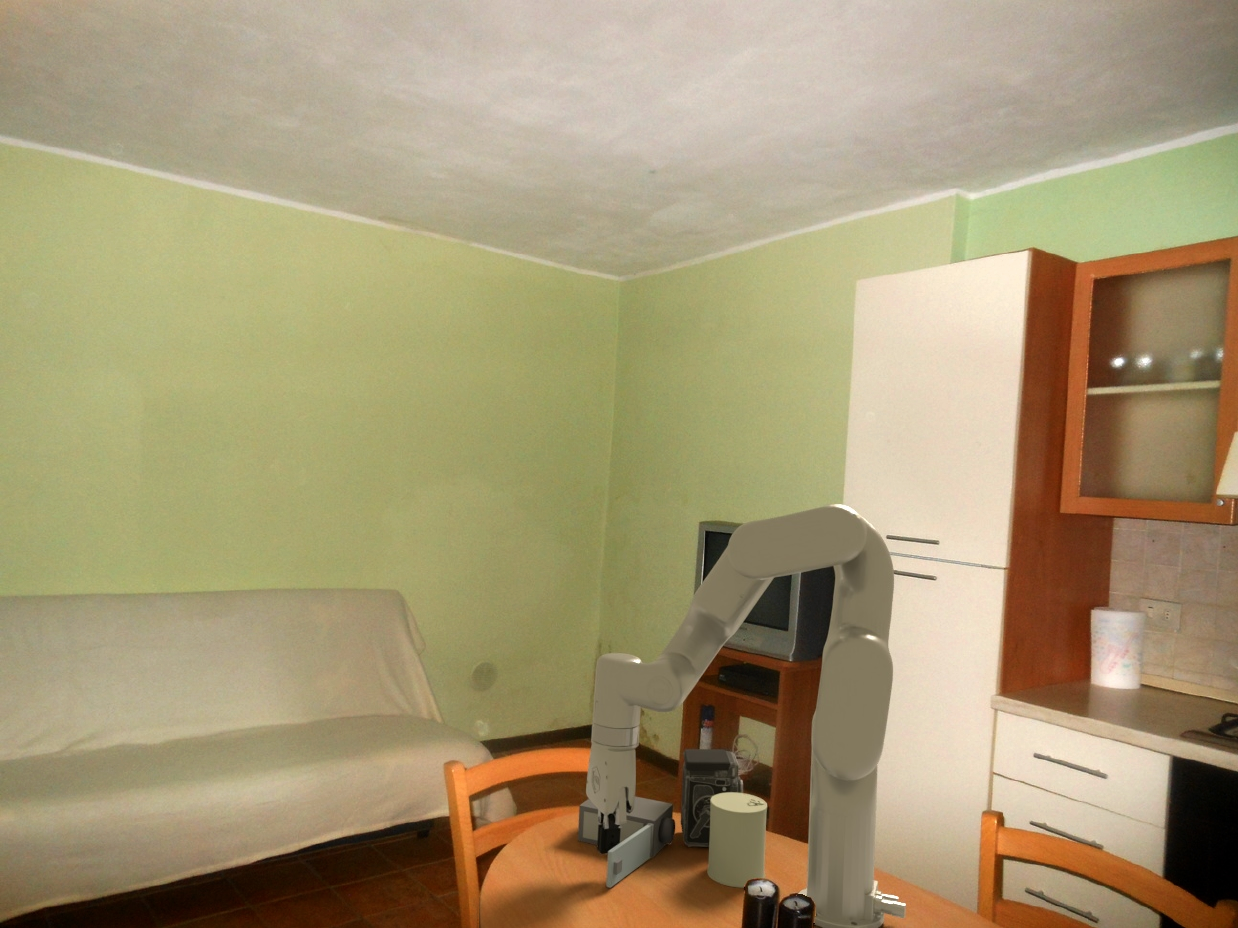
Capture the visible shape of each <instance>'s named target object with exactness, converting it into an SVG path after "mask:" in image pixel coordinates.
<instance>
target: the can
mask: <svg viewBox="0 0 1238 928" xmlns="http://www.w3.org/2000/svg"><path fill="white" fill-rule="evenodd" d="M710 803H711V805H710V841H709V847H708V862H707V863H708V864H707V869H706V870H707V871H706V873H707V875H708V877H709V878H710V879H712V880H713V881H714V882H716V883H718V884H721V885H723V886H726V887H732V888H741V889H745V888H744V885H745V884H746V882H747V881H748V880H750V879H754V878H765V879H766V874H765V861H766V860H765V855H766V853H765V852H766V828H767V827H766V825H767V810H768V803H767V802H766V801H765V800H764V799H762V798H761V797H758V796H756V795H754V794H750V793H744V792H743V793H736V792H727V793H720V794H716V795H714V796H713V797H712V798H711V799H710Z"/></svg>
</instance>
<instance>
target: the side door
mask: <svg viewBox="0 0 1238 928" xmlns="http://www.w3.org/2000/svg"><path fill="white" fill-rule="evenodd" d="M653 827H654V824H652V823H648V824H647V825H646V826H645V827H643V828H642V829H640V830H639V831H637V832H636V833H634V834H633V835H631V836H630V837H628V838H627V839H625V840H624V841H622V842H621V843H619V844H618V845H616V846H615V847H614V848H612V849H611V850H609V851H608V854H607V862H606V863H607V865H606V866H607V868H606V887H607V888H612V887H613V886H615V885H617V884H618V883H619V882H620V881H621V880H623V879H624V878H625V877H627V876H628V875H629V874H631V873H633V872H634V871H635V870H637V868H638V867H640V866H642V865H643V864H644V863H645V862H646V861H648V860H649V859H652V858H653V857H652V851H653Z"/></svg>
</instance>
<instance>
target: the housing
mask: <svg viewBox="0 0 1238 928" xmlns="http://www.w3.org/2000/svg"><path fill="white" fill-rule="evenodd" d="M578 810H579V811H578V830H577V831H578V832H577V841H579V842H583V843H585V844H586V843H587V844H591V845H596V846H597V839H598V825H599V822H598V808H597V807H596V806H595V805H594V804H593V803H592V802H591V800H590V799H589V798H587V799H586V800H585V801H583V802H582V803H581V804H580V805H579V808H578ZM673 813H674V803H670V802H666V801H661V800H660V801H659V800H655V799H650V798H644V797H639V796H635V802H634V808H633V811H632V812H631V813H627V812H626V820H627V822H626V824H625V825H622V827H621V832H620V843H621V842H622V841H624V840H625V839H627V838H628V837H630V836H631V835H633V834H634V833H636V832H637V831H639V830H640V829H642V828H643V827H645V826H646V825H647V824H648V823H652V824H654V827H653V851H652V858H655V856H656V855H657V854H658V853H659V852H660V851H661V850H662V849H663V848H665V846H666V845H671V844H672V843H673V841H674V839H675V834H676V821H675V820H676V819H674V818H673V815H674V814H673Z"/></svg>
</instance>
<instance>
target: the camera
mask: <svg viewBox="0 0 1238 928" xmlns="http://www.w3.org/2000/svg"><path fill="white" fill-rule="evenodd" d="M683 760H684V762H683V763H682V780H681V781H682V782H681V785H682V786H681V807H680V810H681V811H680V826H681V832H682V833H681V834H682V841H683V843H684V844H685V845H686V846H687V847H688V848H691V847H702V848H703V847H704V848H706V847H707V848H709V841H710V805H711V803H710V799H711V798H712V797H713V796H714V795H716V794H720V793H727V792H736V793H744V782H743V779H741V777H740V776H739V769H740V768H739V767H740V766H739V762H738V759H737V757H736V754H735V753H734V752H733V751H729V750H728V751H727V750H726V749H722V748H721V749H720V748H719V749H715V748H714V749H711V748H710V749H709V748H708V749H707V748H704V749H701V748H692V749H691V748H686V749H684V750H683Z"/></svg>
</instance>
